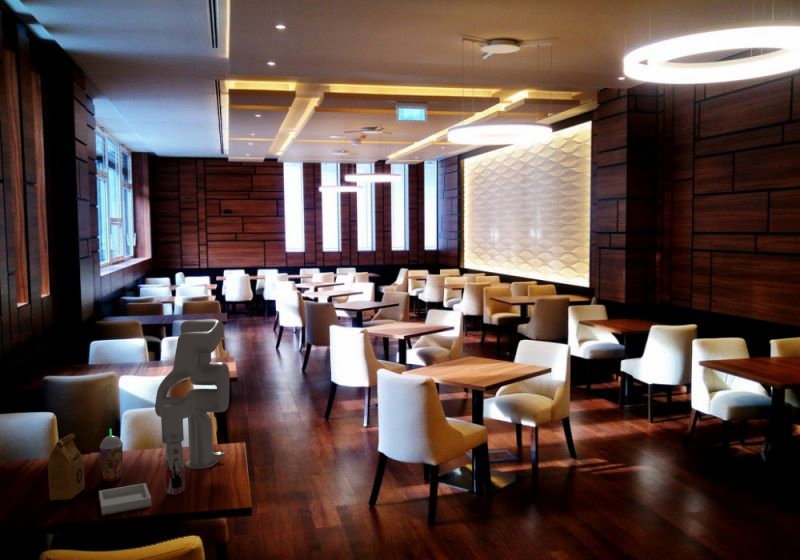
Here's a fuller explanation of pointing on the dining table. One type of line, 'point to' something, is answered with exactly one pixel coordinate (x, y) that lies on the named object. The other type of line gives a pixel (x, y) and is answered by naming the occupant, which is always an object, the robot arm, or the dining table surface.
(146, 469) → the dining table surface
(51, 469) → the coffee package
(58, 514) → the dining table surface
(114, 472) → the smoothie
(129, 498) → the tray
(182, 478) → the soda can
